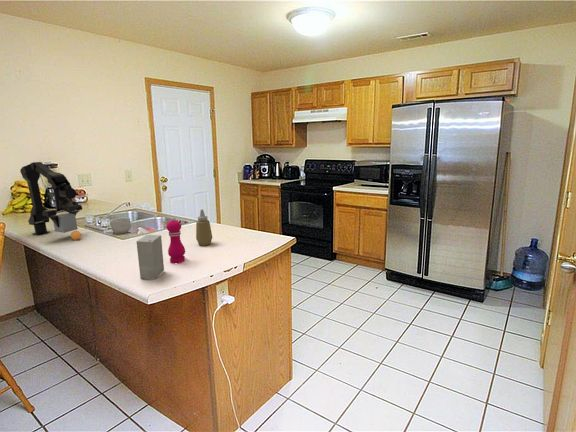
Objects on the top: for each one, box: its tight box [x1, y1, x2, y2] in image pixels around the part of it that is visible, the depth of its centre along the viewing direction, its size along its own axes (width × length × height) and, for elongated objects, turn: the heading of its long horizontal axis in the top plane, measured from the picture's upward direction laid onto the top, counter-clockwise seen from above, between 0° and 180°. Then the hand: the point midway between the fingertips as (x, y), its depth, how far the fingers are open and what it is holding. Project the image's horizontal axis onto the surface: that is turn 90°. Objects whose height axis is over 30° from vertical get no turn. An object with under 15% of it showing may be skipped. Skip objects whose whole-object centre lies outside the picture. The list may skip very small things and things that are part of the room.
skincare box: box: [136, 234, 165, 280], centre depth 133 cm, size 8×7×16 cm
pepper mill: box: [166, 216, 186, 265], centre depth 148 cm, size 7×7×20 cm
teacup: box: [109, 216, 132, 235], centre depth 200 cm, size 14×11×8 cm
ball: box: [70, 230, 82, 241], centre depth 187 cm, size 5×5×5 cm
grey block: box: [52, 212, 78, 234], centre depth 188 cm, size 8×8×9 cm
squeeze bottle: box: [195, 209, 213, 247], centre depth 171 cm, size 8×8×18 cm
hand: (65, 225), depth 189 cm, fingers closed on grey block, 8 cm apart
